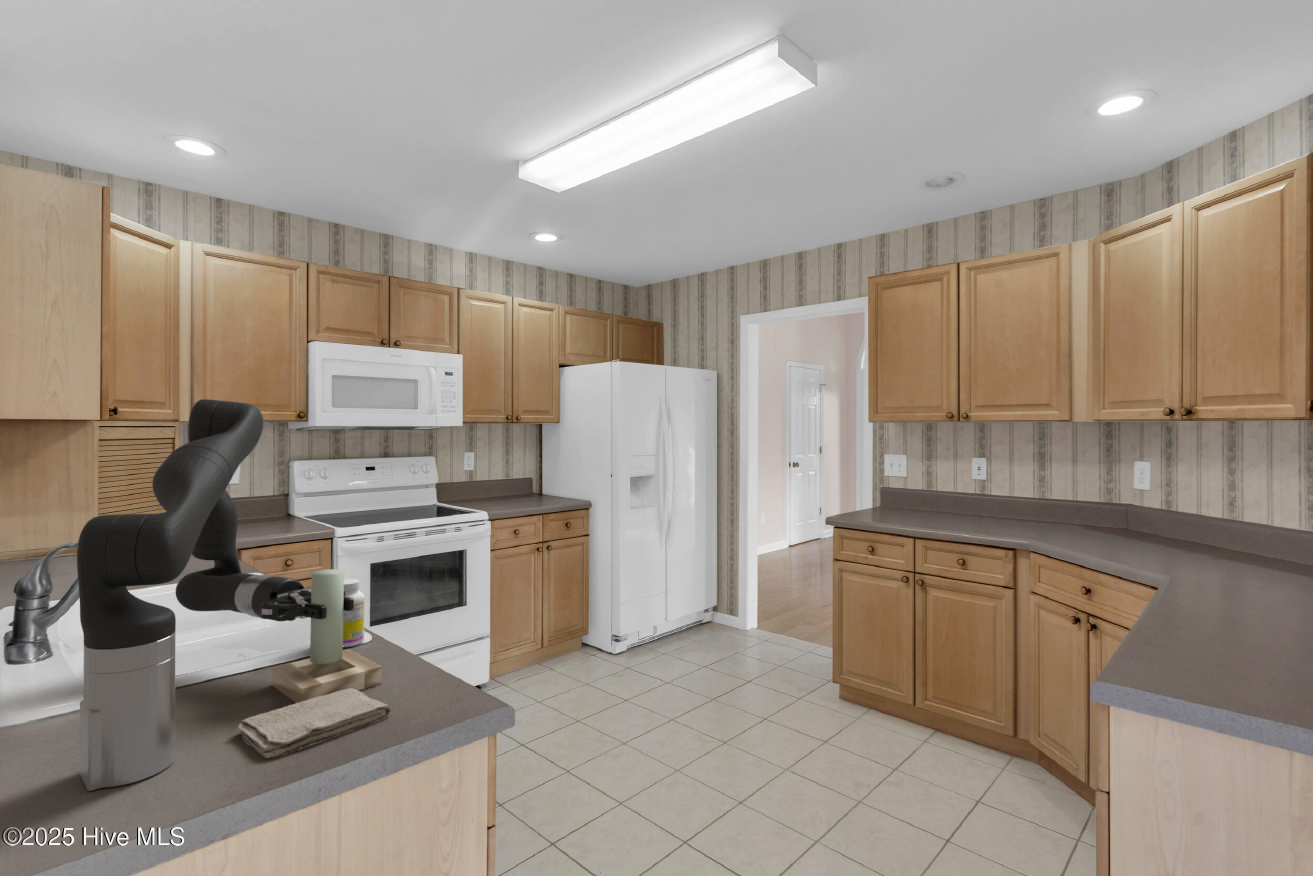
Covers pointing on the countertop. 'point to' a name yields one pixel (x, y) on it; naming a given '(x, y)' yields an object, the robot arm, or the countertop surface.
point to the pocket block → (325, 676)
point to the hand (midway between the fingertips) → (338, 608)
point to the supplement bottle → (353, 615)
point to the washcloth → (310, 722)
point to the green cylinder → (327, 616)
